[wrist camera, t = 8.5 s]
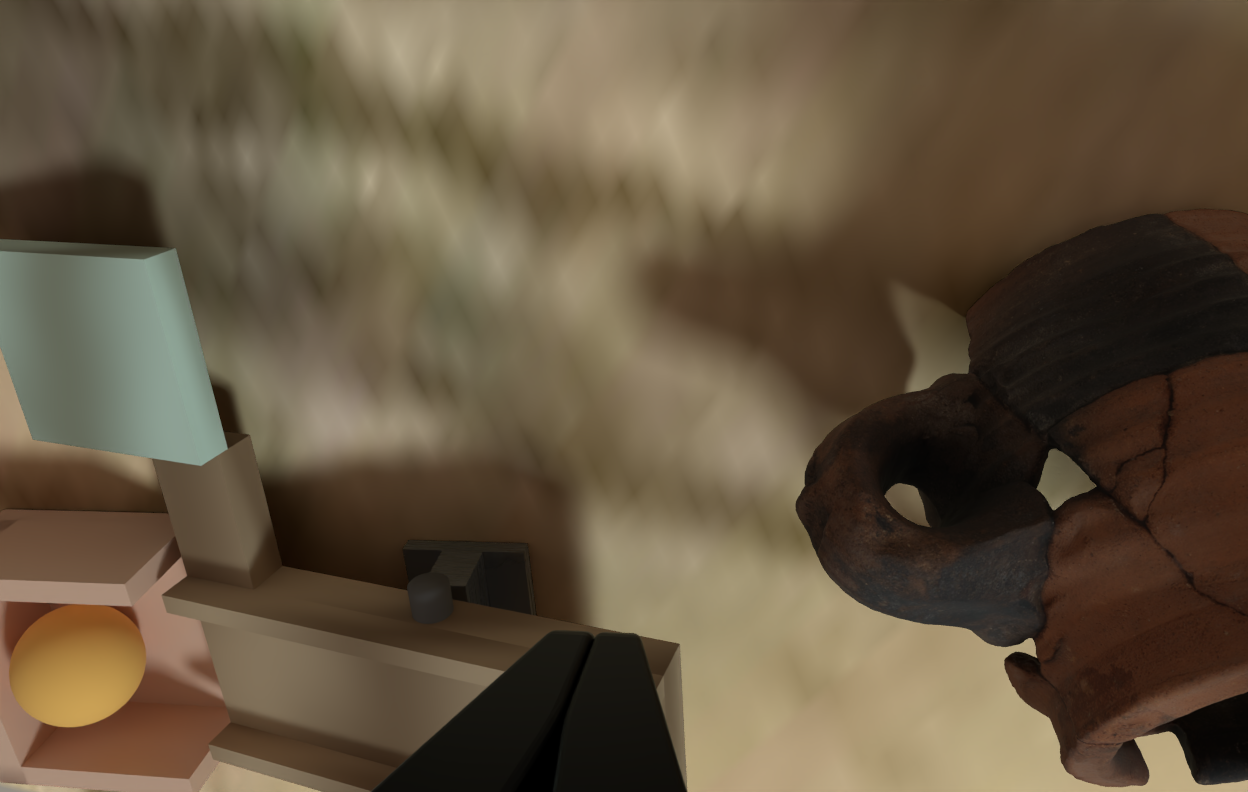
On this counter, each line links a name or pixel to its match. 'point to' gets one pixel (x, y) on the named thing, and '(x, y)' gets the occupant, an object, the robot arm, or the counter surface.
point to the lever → (253, 535)
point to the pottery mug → (1090, 522)
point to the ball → (77, 665)
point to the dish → (175, 647)
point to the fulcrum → (477, 571)
